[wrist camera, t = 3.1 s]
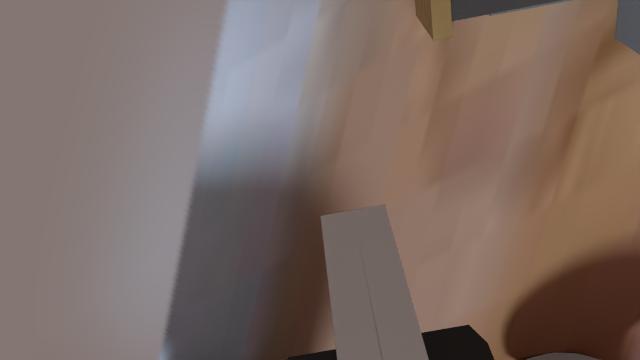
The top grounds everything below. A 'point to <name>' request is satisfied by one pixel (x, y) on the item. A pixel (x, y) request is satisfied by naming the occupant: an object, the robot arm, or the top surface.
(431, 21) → the yellow capped grey block
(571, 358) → the valve
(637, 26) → the socket block
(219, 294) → the top surface
